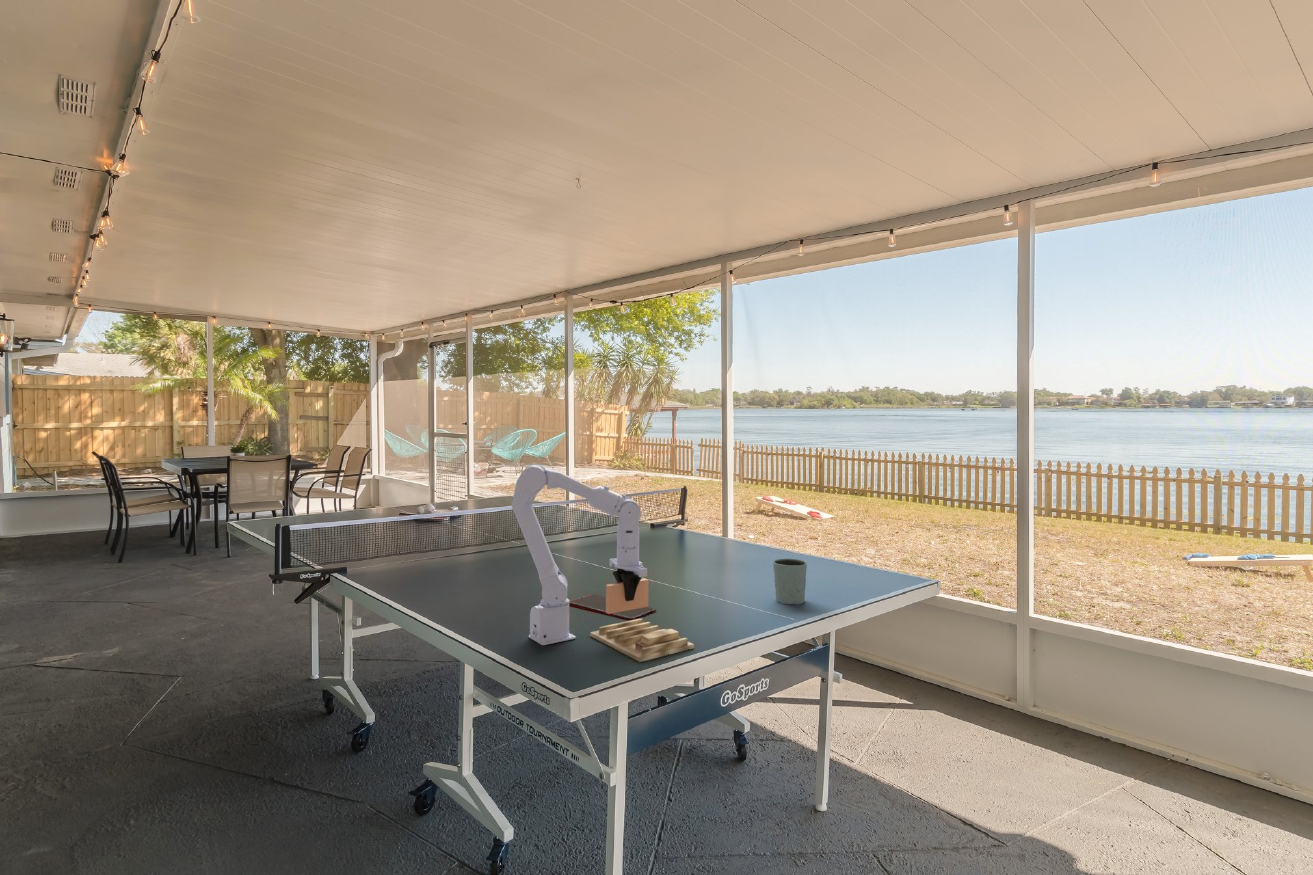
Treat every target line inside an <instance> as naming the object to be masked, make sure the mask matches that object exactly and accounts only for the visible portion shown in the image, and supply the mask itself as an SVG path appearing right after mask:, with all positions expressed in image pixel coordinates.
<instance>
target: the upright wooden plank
mask: <svg viewBox="0 0 1313 875" xmlns="http://www.w3.org/2000/svg"><path fill="white" fill-rule="evenodd" d="M649 581H650V580H649V578H648V579H647V578H641V580H640V582H639V584H638V586H637V589H636V593H635V597H634V600H631V601H626V599H625V592H624V584H623V582H621V583H617V582H615V583H609V584H605V597H606V613H608V614H611V613H616V612H622V611H627V610H632V609H637V608H643V607H649V584H650V583H649Z"/></svg>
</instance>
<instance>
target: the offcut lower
mask: <svg viewBox="0 0 1313 875" xmlns="http://www.w3.org/2000/svg"><path fill="white" fill-rule="evenodd" d="M677 639H682V638H681V637H680V636H679V638H676V639H672V640H668V641H664V642H660V643H656V644H651V645H647V644H645V643H643V642H641V641H640V642H636V643H635V649H637V650H639V651H641V649H642V648H644V647H648V646H652V645H657V644H661V643H665V642H669V641H673V640H677Z"/></svg>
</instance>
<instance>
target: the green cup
mask: <svg viewBox="0 0 1313 875" xmlns="http://www.w3.org/2000/svg"><path fill="white" fill-rule="evenodd" d="M772 564H773V565H772V566H773V573H774V574H773V575H774V588H775V593H774V594H775V600H776V602H777V603H779V602H780V604H784V605H789V604H796V605H802V604H803V603H805V599H806V598H805V595H806V582H807V578H806V576H807V567H808V562H807V561H806V560H802V559H798V558H779V559H775V560H773V562H772Z"/></svg>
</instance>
